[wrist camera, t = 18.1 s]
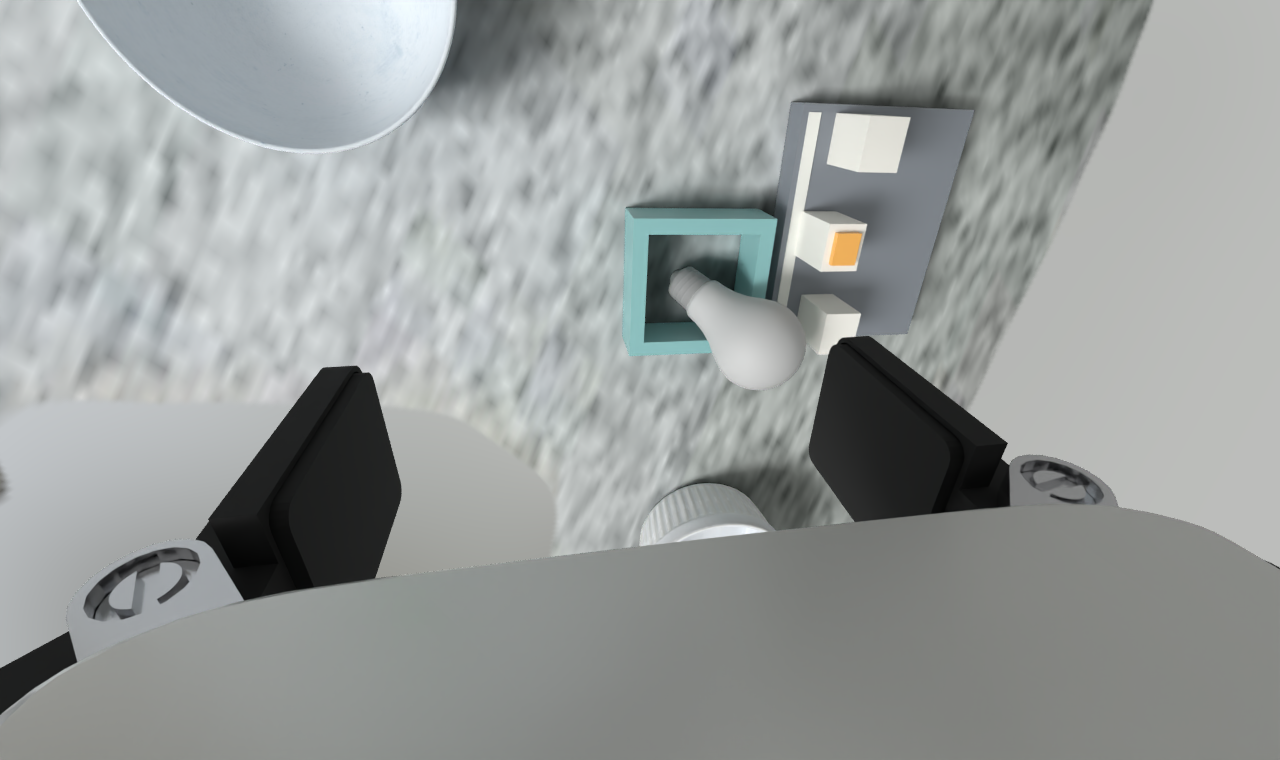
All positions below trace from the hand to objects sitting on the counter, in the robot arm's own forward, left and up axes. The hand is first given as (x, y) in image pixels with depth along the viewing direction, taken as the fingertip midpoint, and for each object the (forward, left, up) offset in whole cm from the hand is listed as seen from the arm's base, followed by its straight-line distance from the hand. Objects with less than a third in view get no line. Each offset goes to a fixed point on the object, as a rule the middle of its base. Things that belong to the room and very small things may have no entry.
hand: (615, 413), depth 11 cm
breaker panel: (+2, +21, -28) cm, 35 cm away
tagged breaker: (+2, +17, -26) cm, 31 cm away
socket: (+6, +9, -28) cm, 30 cm away
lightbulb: (+5, +8, -27) cm, 28 cm away
